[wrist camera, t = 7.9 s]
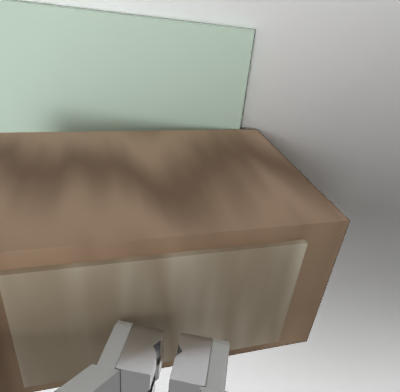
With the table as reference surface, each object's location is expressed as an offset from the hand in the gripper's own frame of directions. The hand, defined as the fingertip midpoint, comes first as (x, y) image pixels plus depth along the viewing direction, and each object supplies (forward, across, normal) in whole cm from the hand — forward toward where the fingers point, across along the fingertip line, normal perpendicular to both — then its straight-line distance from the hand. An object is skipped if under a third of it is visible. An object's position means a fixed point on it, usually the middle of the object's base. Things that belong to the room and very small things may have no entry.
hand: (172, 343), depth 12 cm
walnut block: (+7, -3, -1) cm, 8 cm away
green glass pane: (+11, +7, -1) cm, 13 cm away
